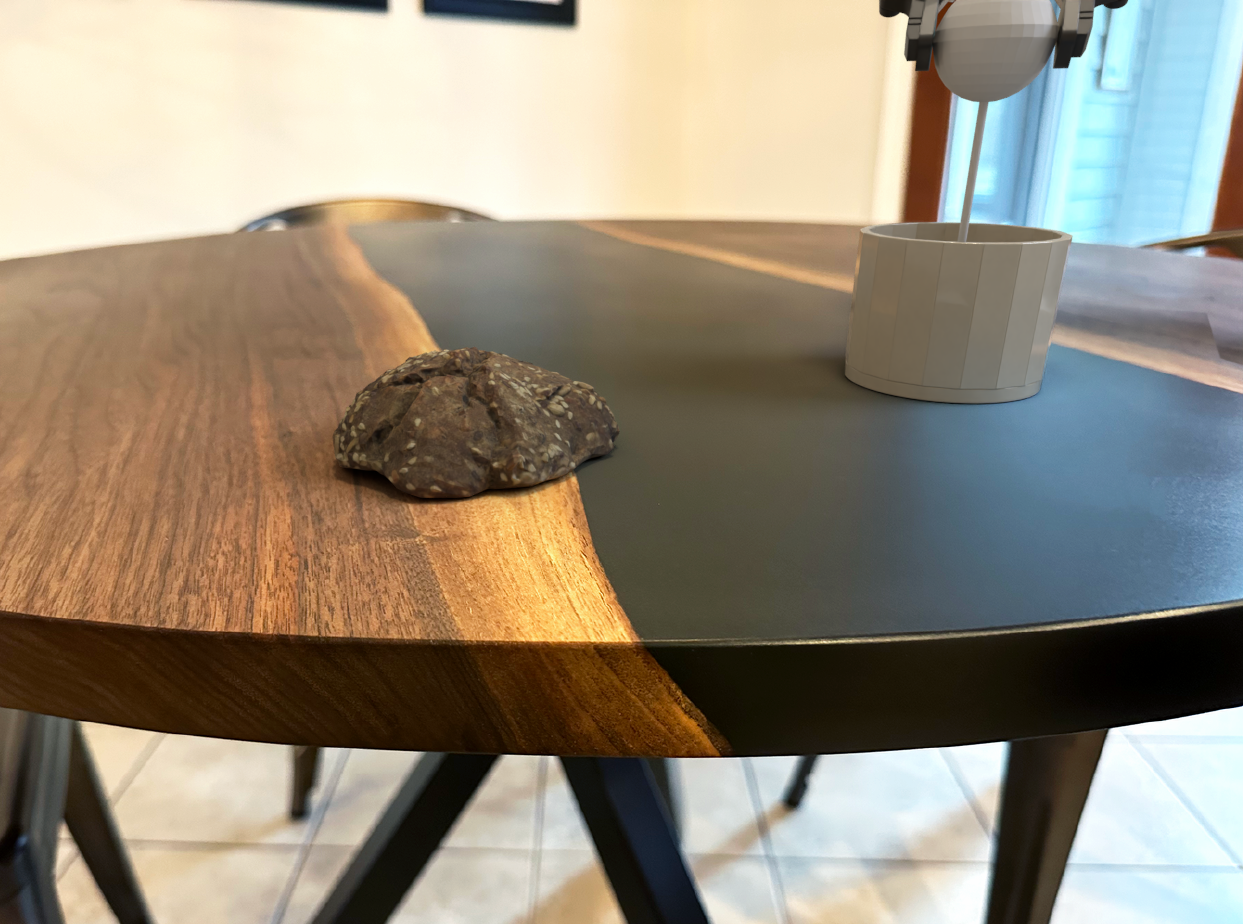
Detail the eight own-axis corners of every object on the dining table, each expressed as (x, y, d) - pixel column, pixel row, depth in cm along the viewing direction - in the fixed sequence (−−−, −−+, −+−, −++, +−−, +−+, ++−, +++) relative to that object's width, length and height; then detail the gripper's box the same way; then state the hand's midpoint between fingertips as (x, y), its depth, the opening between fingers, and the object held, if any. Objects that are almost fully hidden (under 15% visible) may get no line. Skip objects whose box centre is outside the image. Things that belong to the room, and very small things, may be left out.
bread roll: (443, 402, 53) (438, 312, 51) (644, 435, 47) (648, 335, 45) (275, 470, 42) (261, 362, 41) (506, 524, 37) (502, 399, 35)
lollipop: (879, 271, 56) (915, -18, 50) (954, 264, 58) (998, -14, 52) (958, 286, 51) (1010, -34, 45) (1038, 278, 53) (1097, -29, 47)
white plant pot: (972, 353, 62) (995, 219, 59) (1084, 398, 52) (1119, 240, 49) (815, 360, 61) (829, 223, 58) (898, 408, 51) (921, 245, 48)
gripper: (893, -219, 53) (849, -1, 48) (1190, -255, 48) (1178, -16, 43) (886, -91, 60) (846, 113, 54) (1146, -111, 55) (1130, 111, 49)
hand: (992, 55), depth 48 cm, fingers closed on lollipop, 6 cm apart
